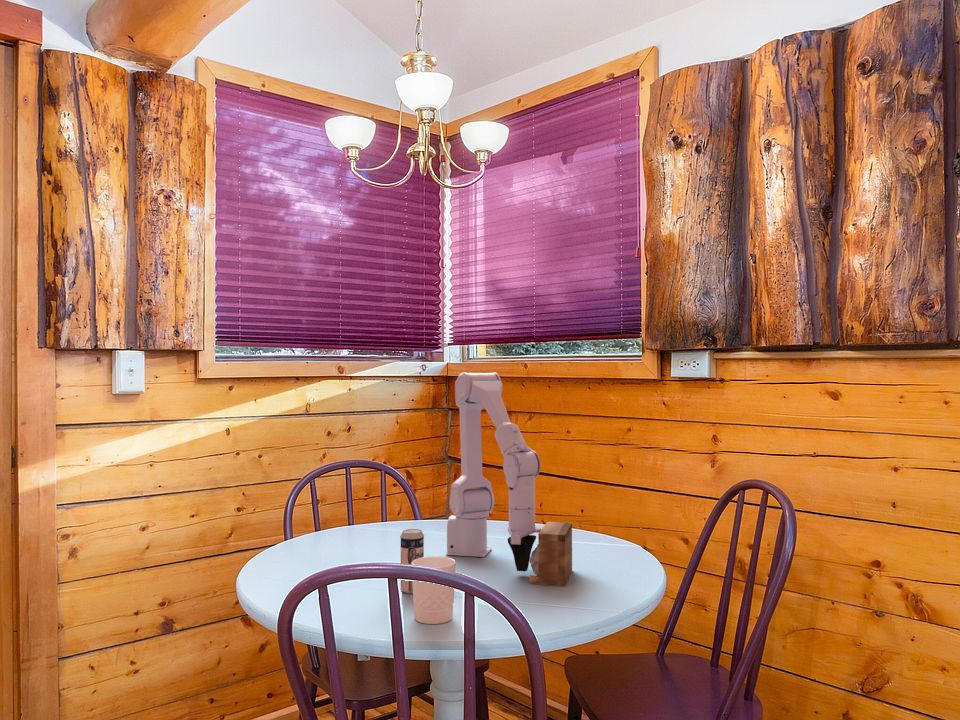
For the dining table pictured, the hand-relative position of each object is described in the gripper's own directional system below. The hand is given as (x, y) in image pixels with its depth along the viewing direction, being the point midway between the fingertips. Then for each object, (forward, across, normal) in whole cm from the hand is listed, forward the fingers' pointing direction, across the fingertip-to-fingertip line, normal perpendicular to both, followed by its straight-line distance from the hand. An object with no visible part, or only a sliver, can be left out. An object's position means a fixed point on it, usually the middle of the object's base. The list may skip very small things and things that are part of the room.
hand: (522, 570), depth 153 cm
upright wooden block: (+1, 0, -7) cm, 7 cm away
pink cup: (+1, -30, +10) cm, 32 cm away
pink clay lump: (+1, 0, -5) cm, 5 cm away
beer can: (+1, -16, +19) cm, 25 cm away
